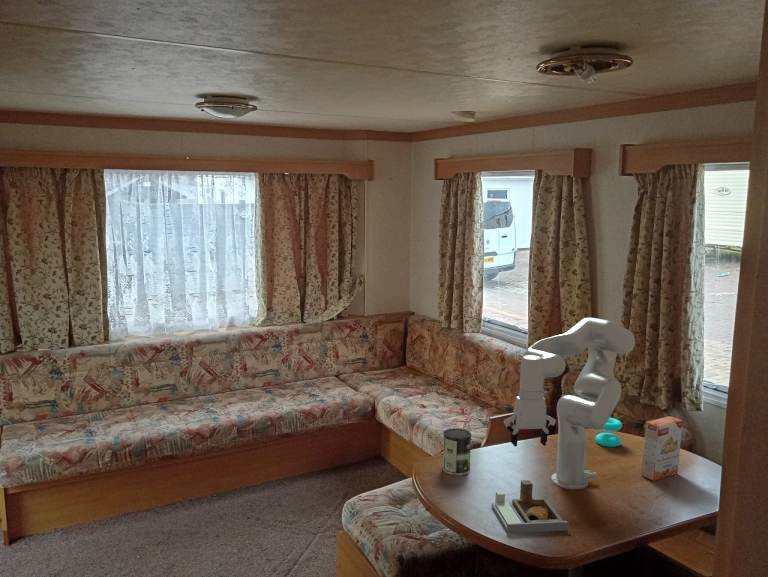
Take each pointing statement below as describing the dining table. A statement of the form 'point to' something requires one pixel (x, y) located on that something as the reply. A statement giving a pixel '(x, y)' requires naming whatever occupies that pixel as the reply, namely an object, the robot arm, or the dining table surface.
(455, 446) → the coffee can
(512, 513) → the sage strip
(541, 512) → the pastry
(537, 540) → the dining table surface
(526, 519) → the frame
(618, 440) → the donuts
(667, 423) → the cracker box
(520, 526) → the lane guide
